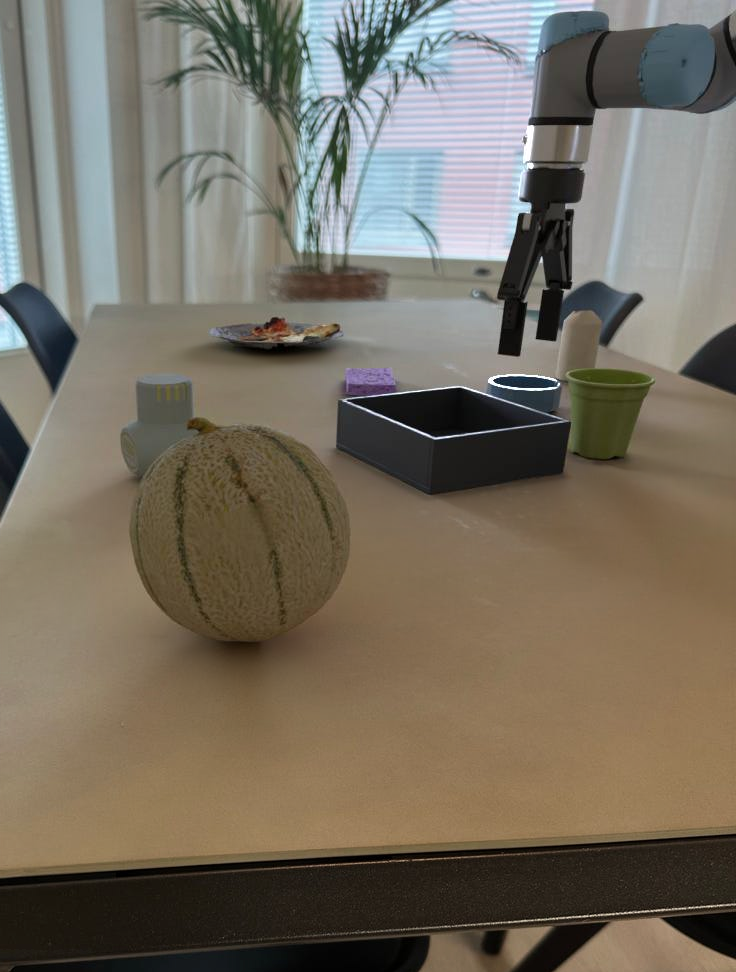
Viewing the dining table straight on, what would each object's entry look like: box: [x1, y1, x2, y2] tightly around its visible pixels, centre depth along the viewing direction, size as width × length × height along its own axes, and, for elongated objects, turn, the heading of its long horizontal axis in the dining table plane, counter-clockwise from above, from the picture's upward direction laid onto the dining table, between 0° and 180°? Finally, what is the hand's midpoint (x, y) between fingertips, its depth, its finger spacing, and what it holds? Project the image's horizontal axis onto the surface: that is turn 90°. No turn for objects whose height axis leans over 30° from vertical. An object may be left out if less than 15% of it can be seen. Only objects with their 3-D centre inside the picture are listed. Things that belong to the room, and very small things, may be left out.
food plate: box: [207, 316, 344, 350], centre depth 168 cm, size 25×23×4 cm
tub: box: [335, 385, 571, 495], centre depth 101 cm, size 19×17×6 cm
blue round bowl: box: [486, 374, 564, 414], centre depth 123 cm, size 10×10×4 cm
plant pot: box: [566, 367, 656, 460], centre depth 103 cm, size 9×9×9 cm
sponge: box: [345, 367, 397, 397], centre depth 135 cm, size 7×13×2 cm, turn 176°
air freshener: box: [119, 373, 198, 479], centre depth 95 cm, size 11×8×10 cm
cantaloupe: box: [128, 416, 351, 643], centre depth 61 cm, size 15×15×15 cm
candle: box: [555, 309, 603, 382], centre depth 139 cm, size 6×6×10 cm
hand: (528, 347), depth 120 cm, fingers open, 13 cm apart
